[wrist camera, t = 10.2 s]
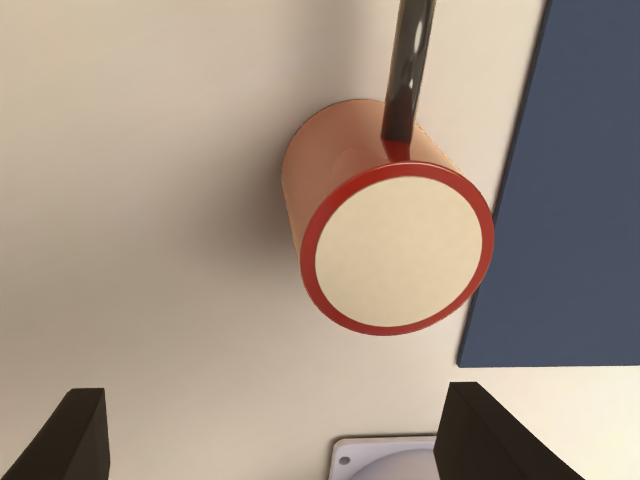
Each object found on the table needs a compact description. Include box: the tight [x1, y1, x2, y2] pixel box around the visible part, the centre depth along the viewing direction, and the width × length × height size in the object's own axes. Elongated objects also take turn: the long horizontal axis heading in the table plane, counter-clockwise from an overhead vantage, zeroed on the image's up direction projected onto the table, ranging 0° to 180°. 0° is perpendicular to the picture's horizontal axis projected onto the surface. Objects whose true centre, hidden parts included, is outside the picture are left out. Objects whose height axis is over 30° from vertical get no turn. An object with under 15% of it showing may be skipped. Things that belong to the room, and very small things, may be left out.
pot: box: [282, 0, 494, 336], centre depth 18 cm, size 11×5×6 cm, turn 174°
